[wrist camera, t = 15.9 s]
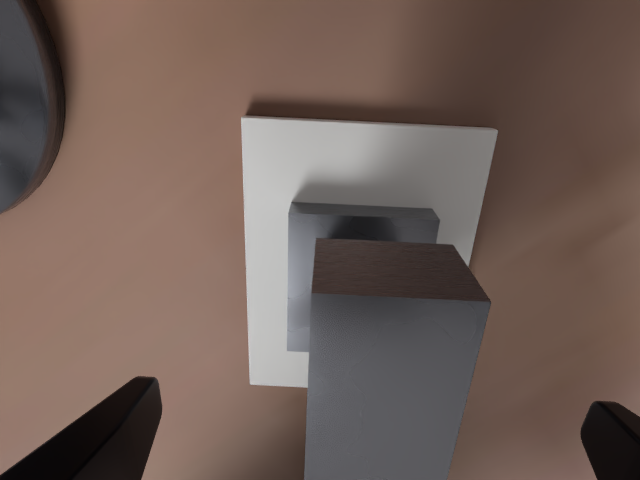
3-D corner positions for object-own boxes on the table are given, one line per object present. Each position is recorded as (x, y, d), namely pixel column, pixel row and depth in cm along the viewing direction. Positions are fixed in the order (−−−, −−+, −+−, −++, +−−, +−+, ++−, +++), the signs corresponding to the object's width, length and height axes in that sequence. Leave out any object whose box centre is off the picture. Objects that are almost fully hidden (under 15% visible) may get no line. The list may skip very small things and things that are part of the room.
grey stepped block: (407, 360, 15) (463, 582, 9) (289, 355, 15) (258, 571, 9) (437, 177, 12) (553, 305, 6) (291, 170, 12) (249, 290, 6)
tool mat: (437, 385, 16) (440, 394, 16) (252, 375, 16) (249, 384, 16) (491, 127, 12) (498, 130, 12) (244, 115, 12) (241, 117, 12)
